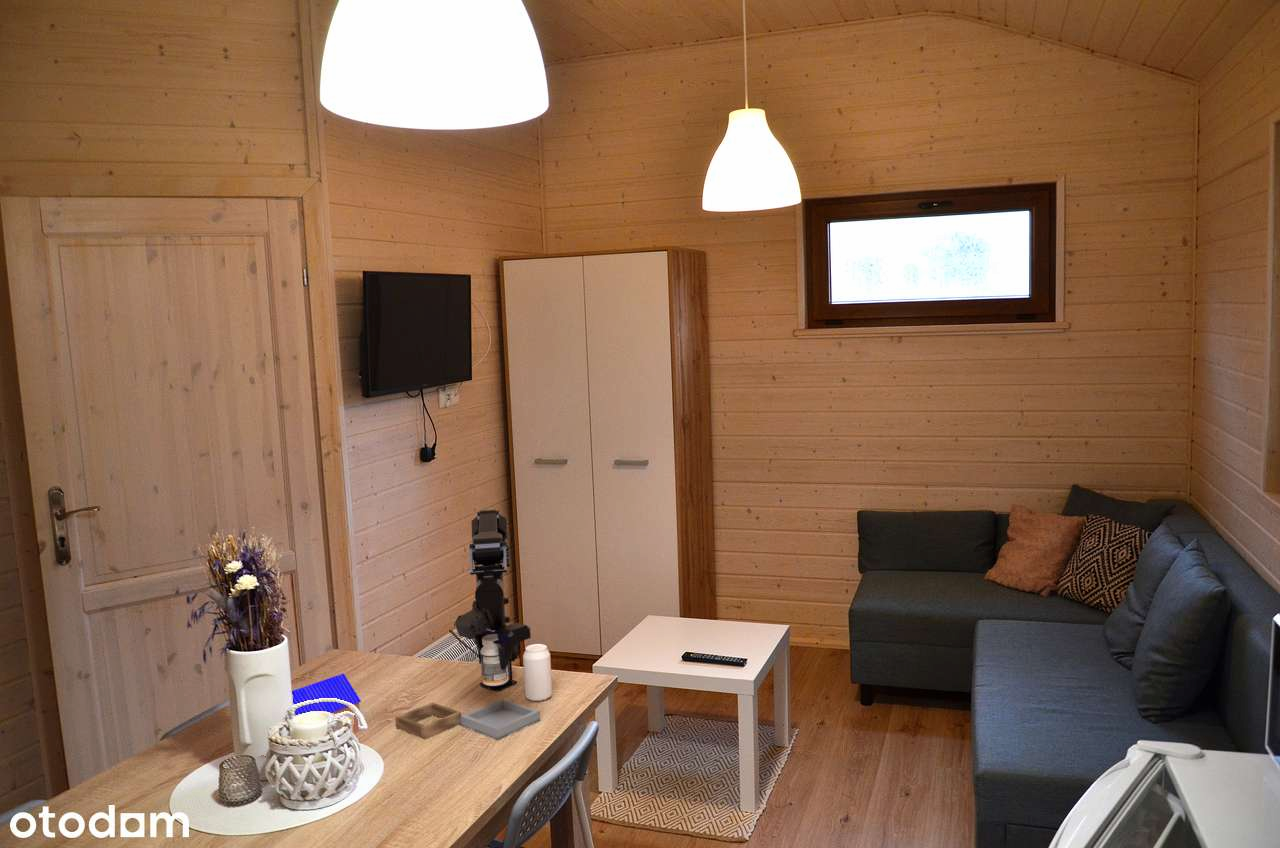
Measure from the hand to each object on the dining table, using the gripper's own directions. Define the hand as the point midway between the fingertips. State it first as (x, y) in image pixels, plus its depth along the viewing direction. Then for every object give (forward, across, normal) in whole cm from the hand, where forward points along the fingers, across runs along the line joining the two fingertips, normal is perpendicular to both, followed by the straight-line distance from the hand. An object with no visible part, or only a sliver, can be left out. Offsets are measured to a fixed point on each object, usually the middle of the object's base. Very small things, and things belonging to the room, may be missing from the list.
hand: (494, 666), depth 213 cm
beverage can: (+13, -4, +15) cm, 21 cm away
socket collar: (+13, -11, -10) cm, 20 cm away
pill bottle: (+4, 0, 0) cm, 4 cm away
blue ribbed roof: (+13, -26, -30) cm, 42 cm away
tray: (+13, 0, 0) cm, 13 cm away
